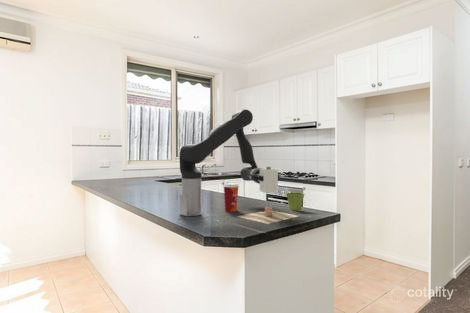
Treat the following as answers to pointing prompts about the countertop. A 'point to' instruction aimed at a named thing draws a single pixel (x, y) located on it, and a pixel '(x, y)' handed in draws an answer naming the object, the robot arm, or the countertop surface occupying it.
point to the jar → (268, 211)
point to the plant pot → (295, 201)
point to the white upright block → (269, 180)
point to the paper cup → (230, 196)
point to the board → (267, 220)
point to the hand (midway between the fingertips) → (270, 178)
